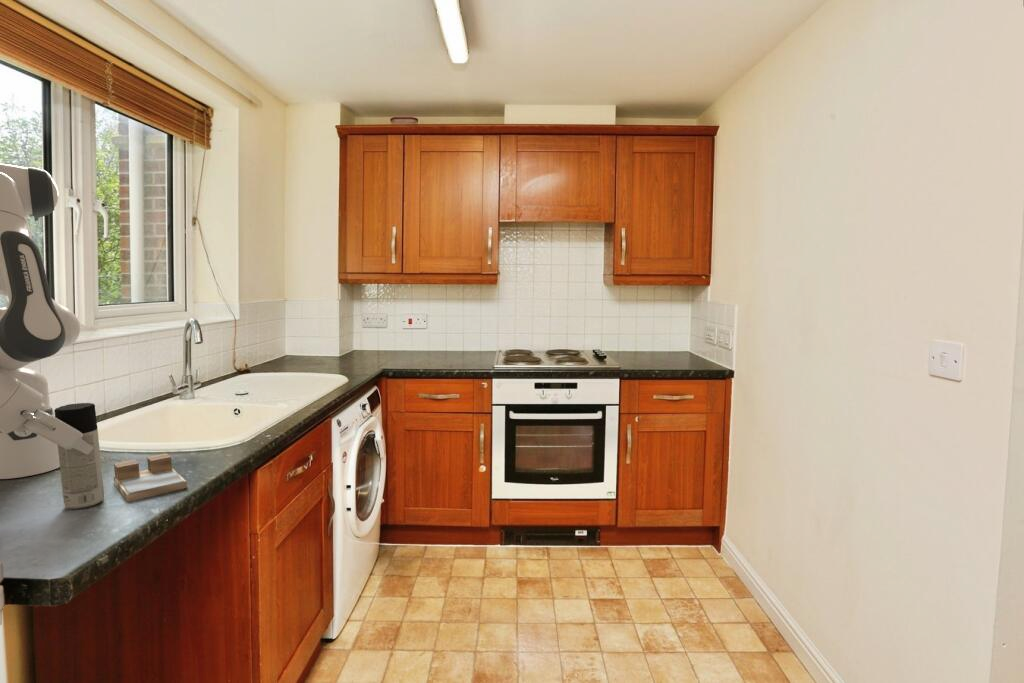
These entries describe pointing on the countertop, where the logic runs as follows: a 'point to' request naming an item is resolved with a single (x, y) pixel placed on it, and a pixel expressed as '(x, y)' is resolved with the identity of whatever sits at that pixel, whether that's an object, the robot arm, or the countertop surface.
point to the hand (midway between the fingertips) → (82, 447)
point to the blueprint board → (147, 478)
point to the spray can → (81, 458)
